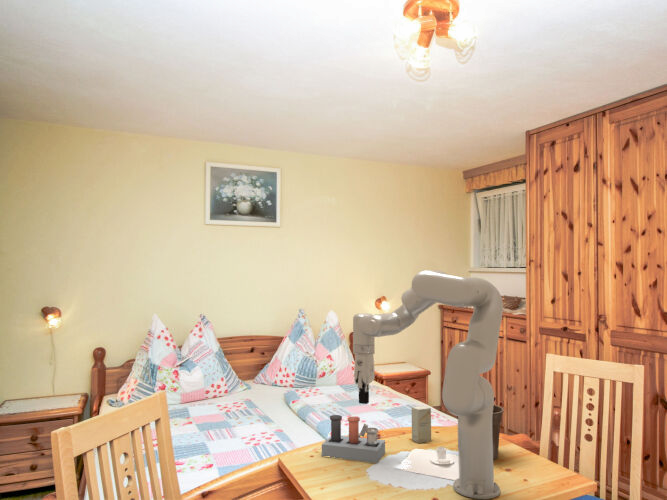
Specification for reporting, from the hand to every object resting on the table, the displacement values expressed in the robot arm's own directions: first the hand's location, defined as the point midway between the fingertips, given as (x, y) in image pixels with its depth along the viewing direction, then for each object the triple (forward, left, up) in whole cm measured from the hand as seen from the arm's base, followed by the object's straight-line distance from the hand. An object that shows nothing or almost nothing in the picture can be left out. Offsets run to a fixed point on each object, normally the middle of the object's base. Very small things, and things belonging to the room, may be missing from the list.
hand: (363, 402), depth 159 cm
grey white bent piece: (+8, +4, -18) cm, 20 cm away
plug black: (0, +10, -14) cm, 17 cm away
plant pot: (+13, -37, -18) cm, 43 cm away
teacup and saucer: (0, -24, -18) cm, 30 cm away
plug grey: (0, -3, -17) cm, 17 cm away
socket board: (0, +4, -18) cm, 18 cm away
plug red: (0, +4, -14) cm, 14 cm away
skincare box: (+22, -16, -18) cm, 33 cm away
